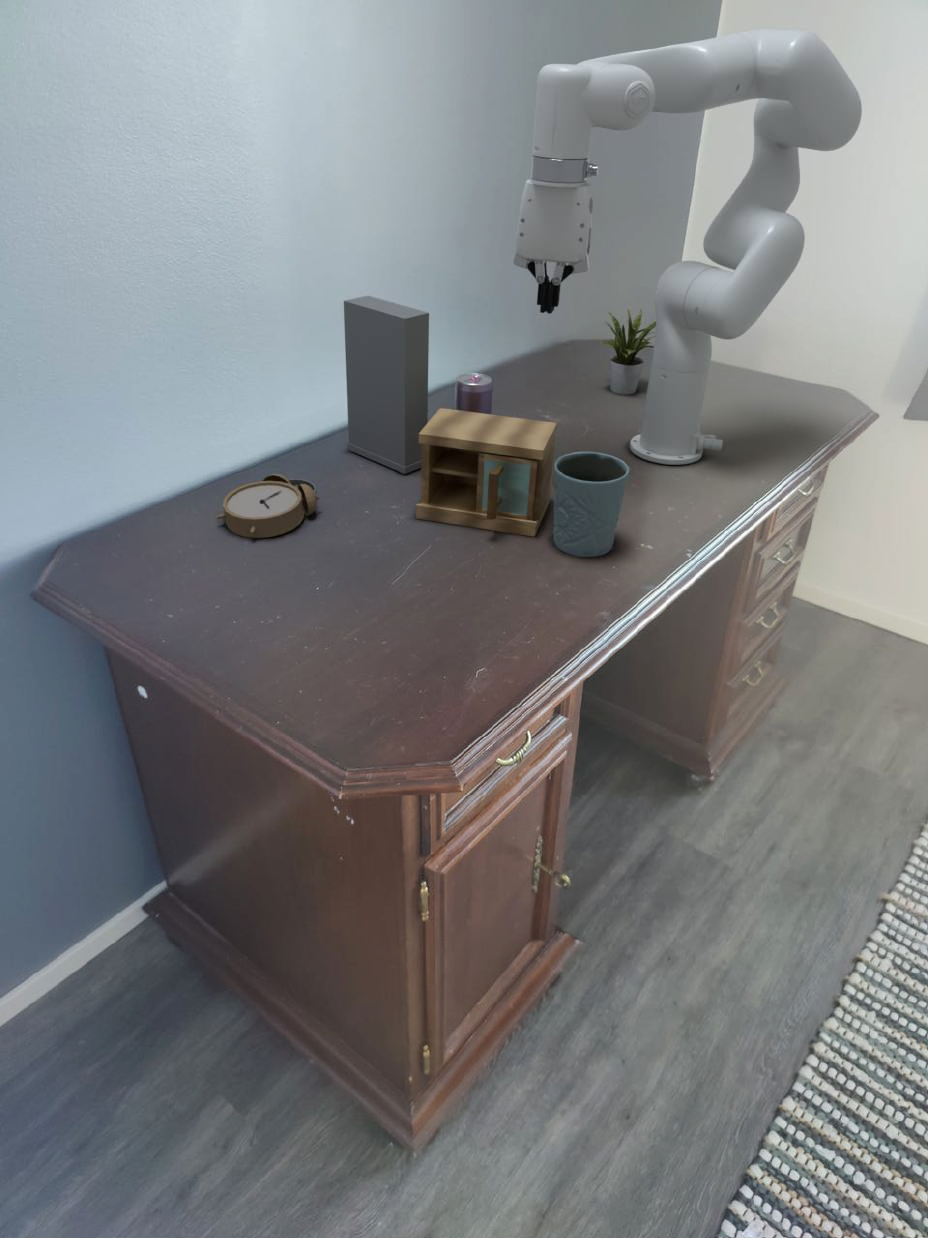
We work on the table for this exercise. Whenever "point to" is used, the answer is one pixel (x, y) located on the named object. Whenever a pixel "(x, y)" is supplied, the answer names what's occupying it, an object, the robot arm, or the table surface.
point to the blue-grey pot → (587, 502)
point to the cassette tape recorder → (386, 380)
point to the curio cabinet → (455, 466)
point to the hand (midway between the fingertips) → (547, 310)
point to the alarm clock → (269, 506)
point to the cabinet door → (506, 486)
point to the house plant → (627, 355)
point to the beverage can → (473, 393)
